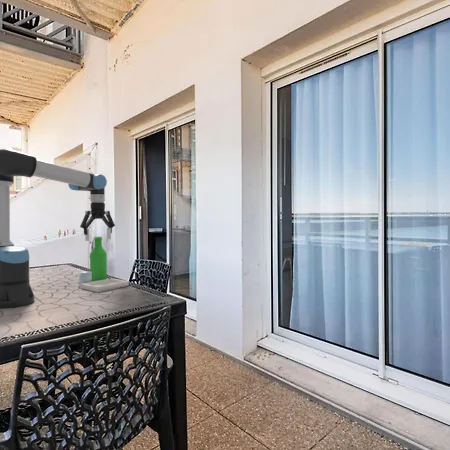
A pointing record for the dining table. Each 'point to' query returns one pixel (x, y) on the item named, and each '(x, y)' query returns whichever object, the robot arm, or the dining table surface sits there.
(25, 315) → the dining table surface
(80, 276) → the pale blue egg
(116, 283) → the tray
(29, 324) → the dining table surface
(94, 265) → the bottle
